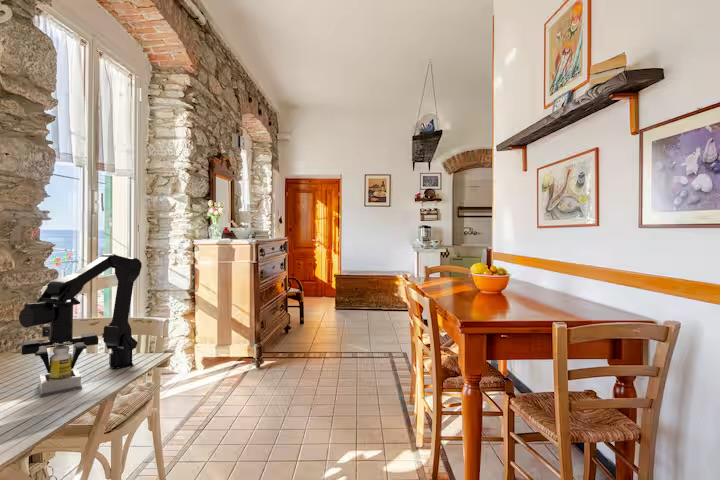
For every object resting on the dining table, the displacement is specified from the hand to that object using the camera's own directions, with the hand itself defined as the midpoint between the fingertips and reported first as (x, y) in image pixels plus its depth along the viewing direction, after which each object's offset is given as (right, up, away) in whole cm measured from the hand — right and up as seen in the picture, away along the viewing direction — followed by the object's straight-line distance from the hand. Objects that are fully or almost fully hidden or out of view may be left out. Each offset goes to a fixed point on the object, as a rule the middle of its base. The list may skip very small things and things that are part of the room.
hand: (60, 370), depth 120 cm
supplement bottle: (0, -3, 0) cm, 3 cm away
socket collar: (0, -5, 0) cm, 5 cm away
